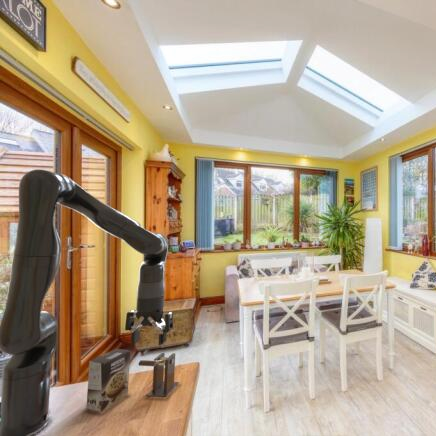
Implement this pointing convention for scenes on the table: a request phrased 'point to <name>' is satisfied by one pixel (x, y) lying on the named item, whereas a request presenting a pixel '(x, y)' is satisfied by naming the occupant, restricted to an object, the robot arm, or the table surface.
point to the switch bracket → (168, 384)
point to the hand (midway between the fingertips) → (148, 343)
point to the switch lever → (153, 362)
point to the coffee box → (108, 379)
